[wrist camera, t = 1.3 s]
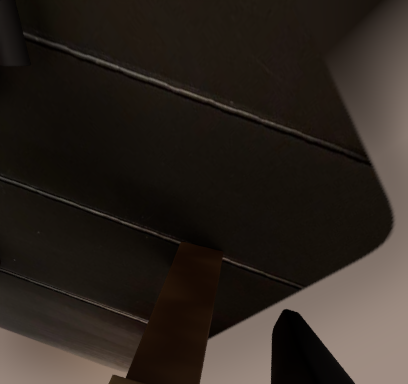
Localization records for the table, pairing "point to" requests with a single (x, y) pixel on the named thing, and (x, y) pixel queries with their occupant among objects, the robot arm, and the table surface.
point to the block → (122, 380)
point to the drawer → (11, 36)
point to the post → (180, 320)
